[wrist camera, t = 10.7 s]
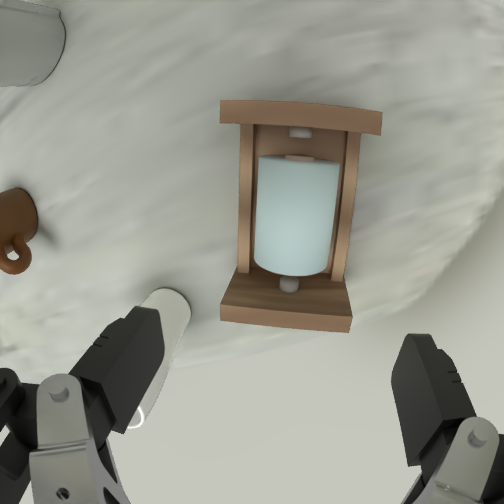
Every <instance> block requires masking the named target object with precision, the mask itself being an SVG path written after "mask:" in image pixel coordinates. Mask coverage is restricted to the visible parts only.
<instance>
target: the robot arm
mask: <svg viewBox="0 0 504 504" xmlns="http://www.w3.org/2000/svg"><path fill="white" fill-rule="evenodd" d="M59 14H60V11H59V10H56V9H53V8H49V7H45V6H41V5H37V4H33V3H29V2H25V1H20V0H0V87H7V86H33V85H37V84H39V83H41V82H42V81H43V80H45V79H46V78H47V77H48V76H49V74H50V73H51V72H52V71H53V69H54V68H55V66H56V64H57V62H58V60H59V58H60V56H61V53H62V50H63V46H64V40H65V29H64V26H63V23H62V21H61V20H60V18H59ZM164 354H165V344H164V338H163V332H162V325H161V319H160V313H159V311H158V310H157V309H152V308H146V307H140V306H135V307H134V308H133V309H132V310H131V311H130V312H129V314H128V315H127V316H126V317H125V318H119V319H118V320H116V321H114V322H113V323H111V324H109V325H108V326H107V327H106V328H105V329H104V331H103V332H102V333H101V334H100V337H98V338H97V339H96V340H95V341H94V343H93V345H91V346H90V347H89V349H88V350H87V351H86V352H85V354H84V355H83V356H82V357H81V358H80V360H79V361H78V362H77V363H76V365H75V366H74V367H73V368H72V370H71V371H70V372H69V373H68V374H56V375H52V376H50V377H48V378H47V379H45V380H44V381H43V382H42V383H41V384H40V385H39V384H29V383H21V382H20V380H19V378H18V376H17V374H16V373H15V372H14V371H13V370H11V369H9V368H0V432H1V430H2V429H3V427H4V426H5V425H6V426H7V428H8V429H9V430H10V433H9V434H8V435H7V437H6V438H5V440H4V442H3V443H2V445H1V446H0V504H19V502H20V500H21V498H22V496H23V494H24V492H25V490H26V488H27V486H28V484H29V482H30V480H31V484H32V492H33V499H34V504H131V503H130V501H129V499H128V497H127V496H126V494H125V492H124V490H123V487H122V485H121V482H120V478H119V475H118V472H117V469H116V465H115V462H114V458H113V455H112V452H111V448H110V444H109V441H108V439H107V437H108V435H109V433H110V431H111V430H112V431H115V432H118V433H121V434H124V433H125V431H126V429H127V427H128V425H129V423H130V421H131V419H132V417H133V416H134V414H135V412H136V410H137V408H138V406H139V404H140V402H141V401H142V399H143V397H144V395H145V393H146V391H147V389H148V388H149V386H150V384H151V382H152V380H153V378H154V377H155V375H156V373H157V371H158V369H159V367H160V366H161V364H162V361H163V358H164ZM391 385H392V390H393V394H394V399H395V403H396V407H397V412H398V417H399V421H400V426H401V431H402V436H403V441H404V446H405V452H406V458H407V464H408V467H409V466H417V465H421V469H422V472H421V473H420V474H419V476H418V477H417V479H416V480H415V482H414V484H413V485H412V487H411V488H410V491H409V492H408V493H407V495H406V496H405V498H404V499H403V501H402V502H401V504H504V435H503V434H498V431H497V430H496V428H495V426H494V425H493V424H492V423H491V422H489V421H488V420H486V419H484V418H481V417H477V416H476V413H475V411H474V408H473V406H472V403H471V401H470V398H469V396H468V394H467V391H466V389H465V387H464V385H463V383H461V378H460V376H459V373H457V369H456V367H455V365H454V363H453V361H452V359H451V358H450V357H449V356H448V355H447V354H446V353H445V352H444V351H443V350H442V349H437V347H436V345H435V343H434V340H433V338H432V336H431V335H430V334H407V336H406V337H405V339H404V342H403V344H402V347H401V350H400V352H399V355H398V357H397V360H396V363H395V365H394V368H393V371H392V377H391Z"/></svg>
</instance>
